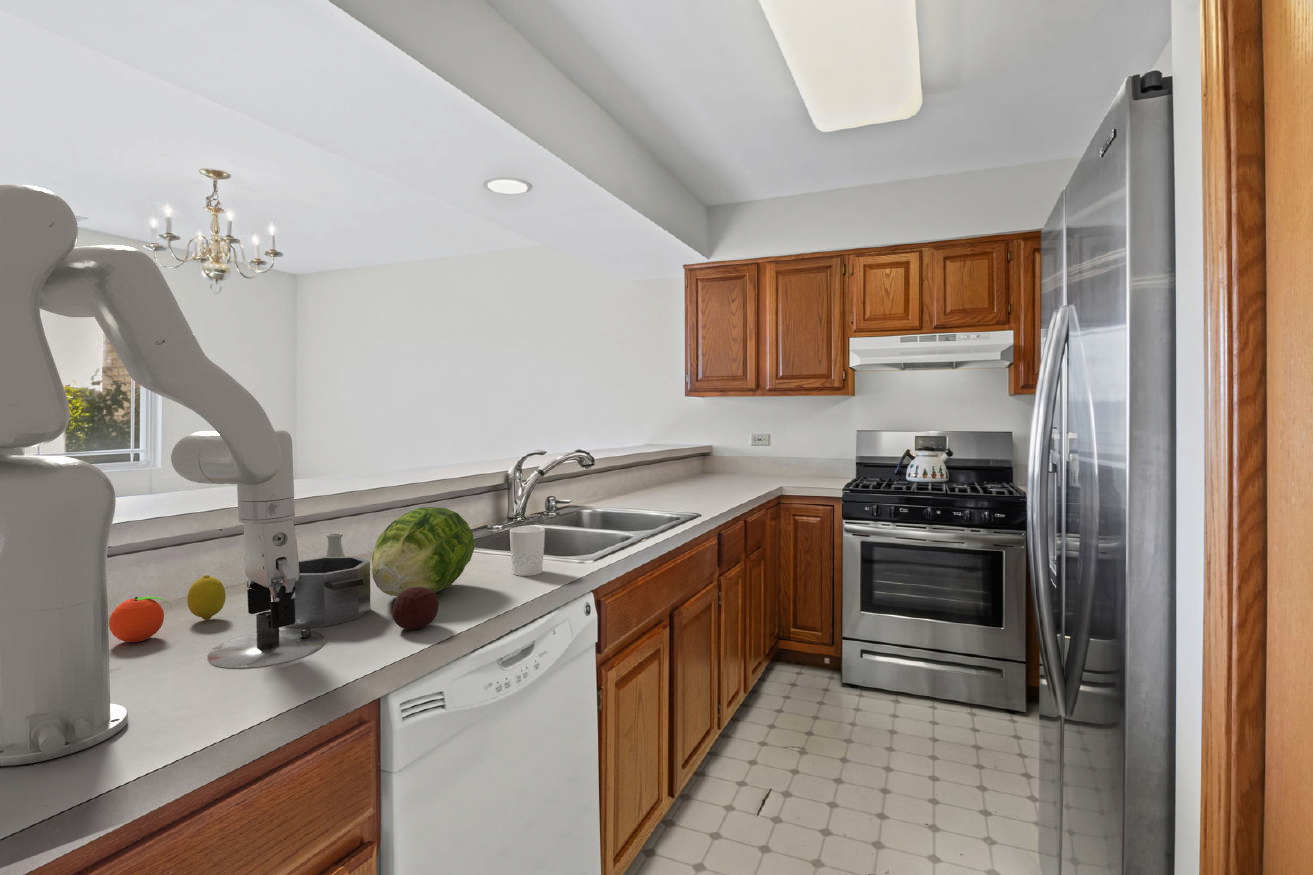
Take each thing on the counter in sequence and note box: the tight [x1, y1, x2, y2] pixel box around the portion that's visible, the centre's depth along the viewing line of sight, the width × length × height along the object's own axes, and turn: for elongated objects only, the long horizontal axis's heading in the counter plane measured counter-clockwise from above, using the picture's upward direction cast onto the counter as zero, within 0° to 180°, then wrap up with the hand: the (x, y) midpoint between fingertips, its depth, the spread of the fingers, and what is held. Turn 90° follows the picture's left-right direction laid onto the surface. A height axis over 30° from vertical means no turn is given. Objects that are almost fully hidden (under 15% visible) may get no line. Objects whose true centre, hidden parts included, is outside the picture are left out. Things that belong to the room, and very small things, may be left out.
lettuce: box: [371, 506, 475, 597], centre depth 132 cm, size 17×23×17 cm
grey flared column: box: [324, 532, 346, 557], centre depth 144 cm, size 7×7×10 cm
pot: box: [276, 556, 372, 629], centre depth 119 cm, size 19×14×9 cm
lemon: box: [187, 574, 227, 621], centre depth 115 cm, size 6×6×8 cm
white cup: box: [509, 525, 546, 577], centre depth 151 cm, size 8×8×10 cm
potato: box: [391, 587, 440, 631], centre depth 112 cm, size 7×8×7 cm
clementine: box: [108, 596, 173, 643], centre depth 105 cm, size 8×7×7 cm
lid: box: [206, 610, 326, 669], centre depth 102 cm, size 16×16×6 cm
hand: (271, 618), depth 103 cm, fingers open, 9 cm apart
